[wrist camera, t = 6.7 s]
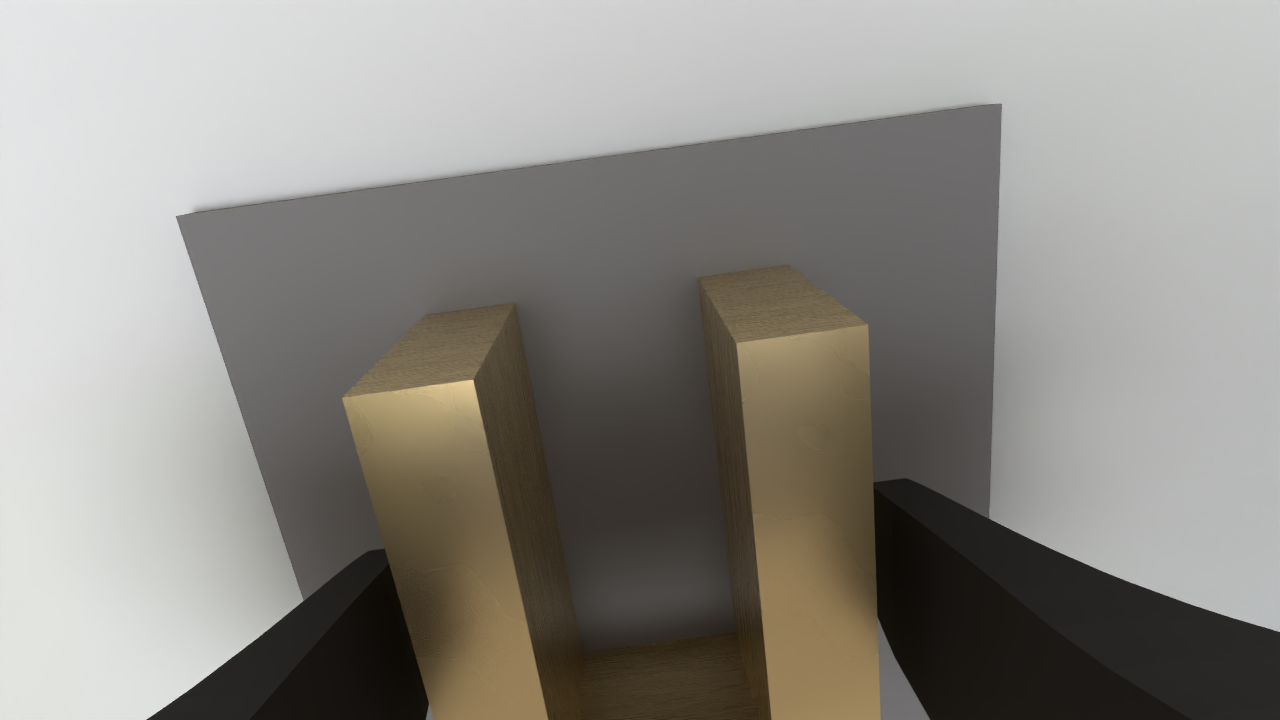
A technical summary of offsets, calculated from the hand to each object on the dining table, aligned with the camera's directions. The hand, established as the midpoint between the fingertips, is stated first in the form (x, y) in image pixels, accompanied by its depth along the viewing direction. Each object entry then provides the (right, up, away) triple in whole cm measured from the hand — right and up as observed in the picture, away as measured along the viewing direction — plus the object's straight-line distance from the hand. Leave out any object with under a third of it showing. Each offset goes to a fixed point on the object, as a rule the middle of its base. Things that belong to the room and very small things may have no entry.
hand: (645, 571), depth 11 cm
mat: (0, +1, +2) cm, 2 cm away
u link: (0, +1, +1) cm, 1 cm away
